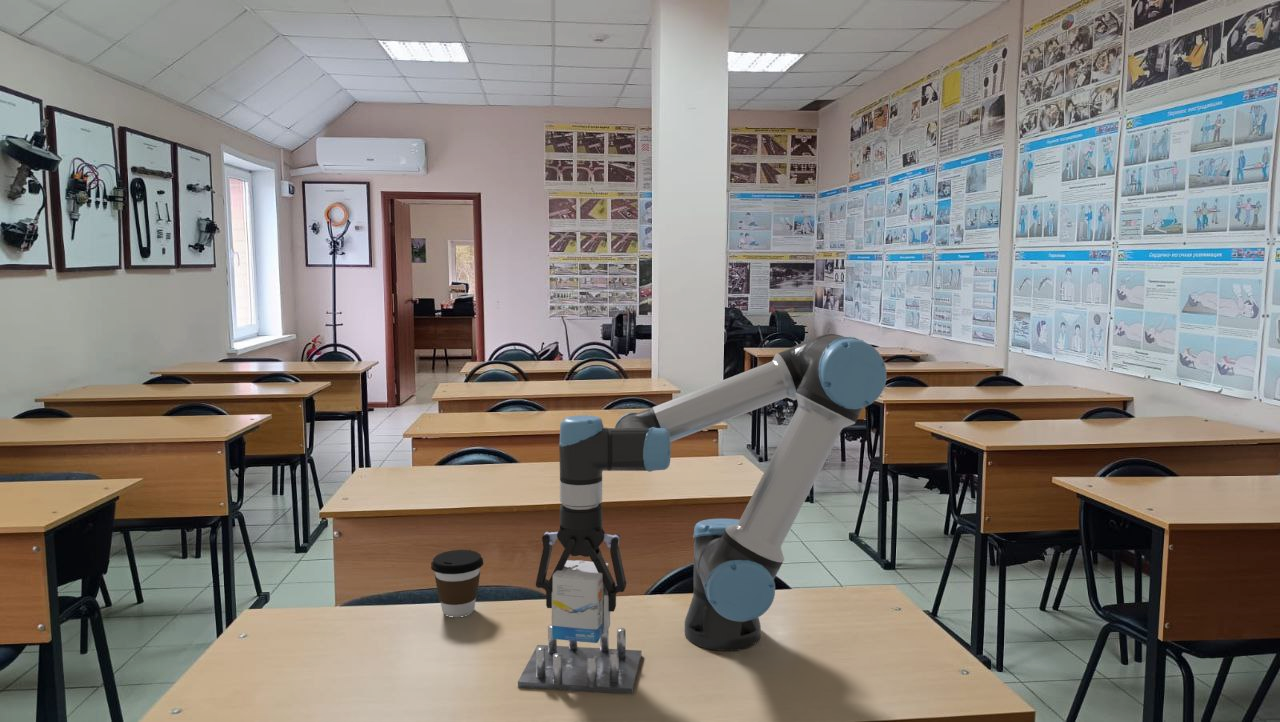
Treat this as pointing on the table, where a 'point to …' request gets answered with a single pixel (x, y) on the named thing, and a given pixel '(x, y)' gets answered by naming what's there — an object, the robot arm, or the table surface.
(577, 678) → the grey peg board
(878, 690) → the table surface
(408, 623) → the table surface
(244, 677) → the table surface
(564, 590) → the ink box
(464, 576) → the coffee cup
